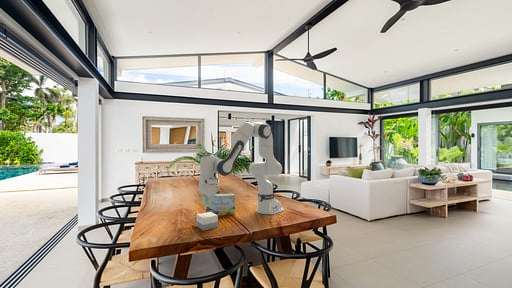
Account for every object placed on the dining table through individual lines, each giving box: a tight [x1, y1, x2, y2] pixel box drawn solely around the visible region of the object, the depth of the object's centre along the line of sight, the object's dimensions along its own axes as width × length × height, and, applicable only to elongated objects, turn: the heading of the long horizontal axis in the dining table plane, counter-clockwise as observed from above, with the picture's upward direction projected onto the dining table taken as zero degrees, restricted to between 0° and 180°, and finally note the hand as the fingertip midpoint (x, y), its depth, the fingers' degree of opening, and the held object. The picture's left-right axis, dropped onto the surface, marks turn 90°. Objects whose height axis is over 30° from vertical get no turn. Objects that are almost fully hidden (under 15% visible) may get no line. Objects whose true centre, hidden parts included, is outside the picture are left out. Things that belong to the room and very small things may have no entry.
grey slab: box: [196, 220, 219, 231], centre depth 153 cm, size 10×10×4 cm
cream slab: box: [196, 212, 219, 225], centre depth 153 cm, size 10×10×4 cm
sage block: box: [201, 195, 212, 207], centre depth 153 cm, size 5×5×6 cm
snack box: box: [205, 193, 236, 216], centre depth 179 cm, size 21×6×15 cm, turn 101°
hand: (206, 201), depth 153 cm, fingers closed on sage block, 5 cm apart
